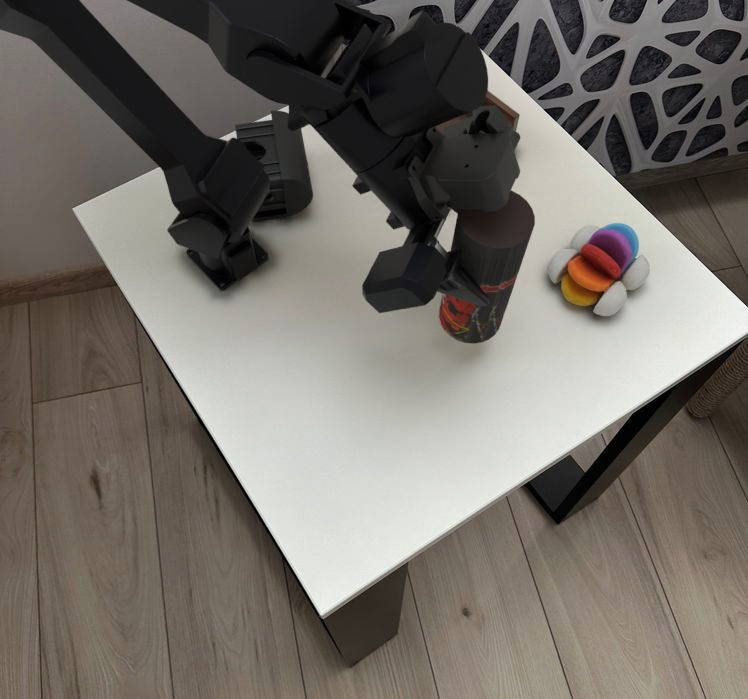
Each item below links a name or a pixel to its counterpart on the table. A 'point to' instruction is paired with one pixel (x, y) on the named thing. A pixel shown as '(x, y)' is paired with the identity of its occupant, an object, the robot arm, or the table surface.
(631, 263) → the rainbow disc toy
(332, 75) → the robot arm
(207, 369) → the table surface
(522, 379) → the table surface
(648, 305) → the table surface
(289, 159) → the end cap
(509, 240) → the deodorant
